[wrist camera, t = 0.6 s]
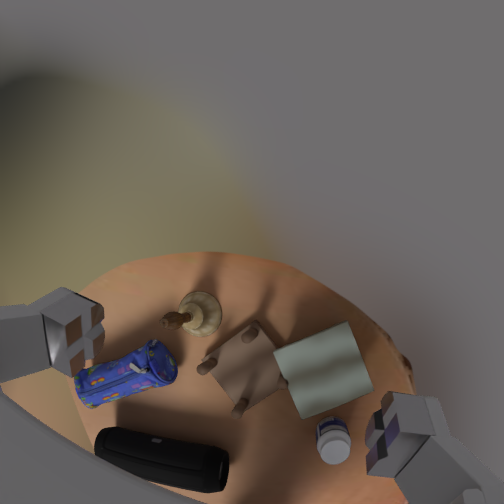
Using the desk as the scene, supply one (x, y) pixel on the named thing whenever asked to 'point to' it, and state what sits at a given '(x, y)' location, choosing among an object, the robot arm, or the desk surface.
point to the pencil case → (126, 375)
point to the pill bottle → (333, 440)
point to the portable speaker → (164, 459)
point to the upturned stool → (245, 368)
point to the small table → (324, 370)
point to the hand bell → (195, 315)
